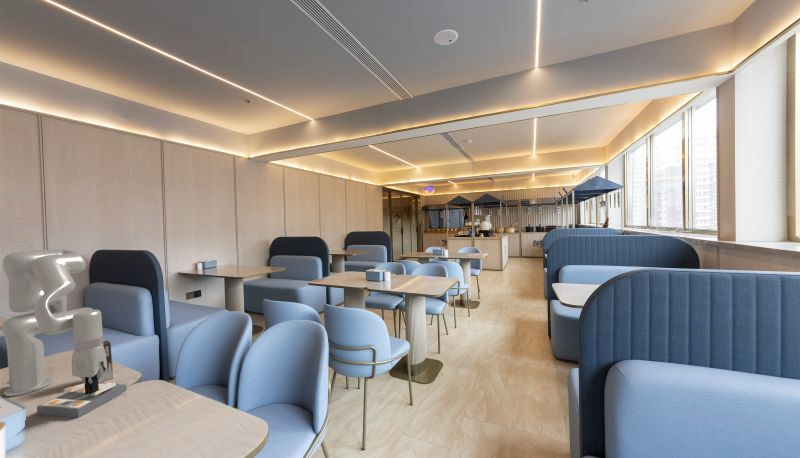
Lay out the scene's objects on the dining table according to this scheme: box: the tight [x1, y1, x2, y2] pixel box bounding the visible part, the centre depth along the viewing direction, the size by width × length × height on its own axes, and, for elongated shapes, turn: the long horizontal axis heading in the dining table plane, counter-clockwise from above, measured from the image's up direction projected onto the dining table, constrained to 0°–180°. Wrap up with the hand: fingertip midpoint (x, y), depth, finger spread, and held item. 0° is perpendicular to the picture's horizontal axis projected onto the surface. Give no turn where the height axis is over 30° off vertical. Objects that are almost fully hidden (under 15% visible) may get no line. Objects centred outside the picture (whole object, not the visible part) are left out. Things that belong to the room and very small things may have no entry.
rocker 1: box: [63, 383, 86, 393], centre depth 116 cm, size 4×7×1 cm, turn 172°
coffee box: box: [81, 340, 114, 384], centre depth 130 cm, size 9×6×16 cm
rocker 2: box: [76, 384, 104, 393], centre depth 116 cm, size 4×7×1 cm, turn 172°
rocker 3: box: [88, 382, 117, 395], centre depth 115 cm, size 4×7×1 cm, turn 172°
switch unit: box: [36, 382, 128, 419], centre depth 113 cm, size 18×16×4 cm
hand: (92, 392), depth 111 cm, fingers closed
